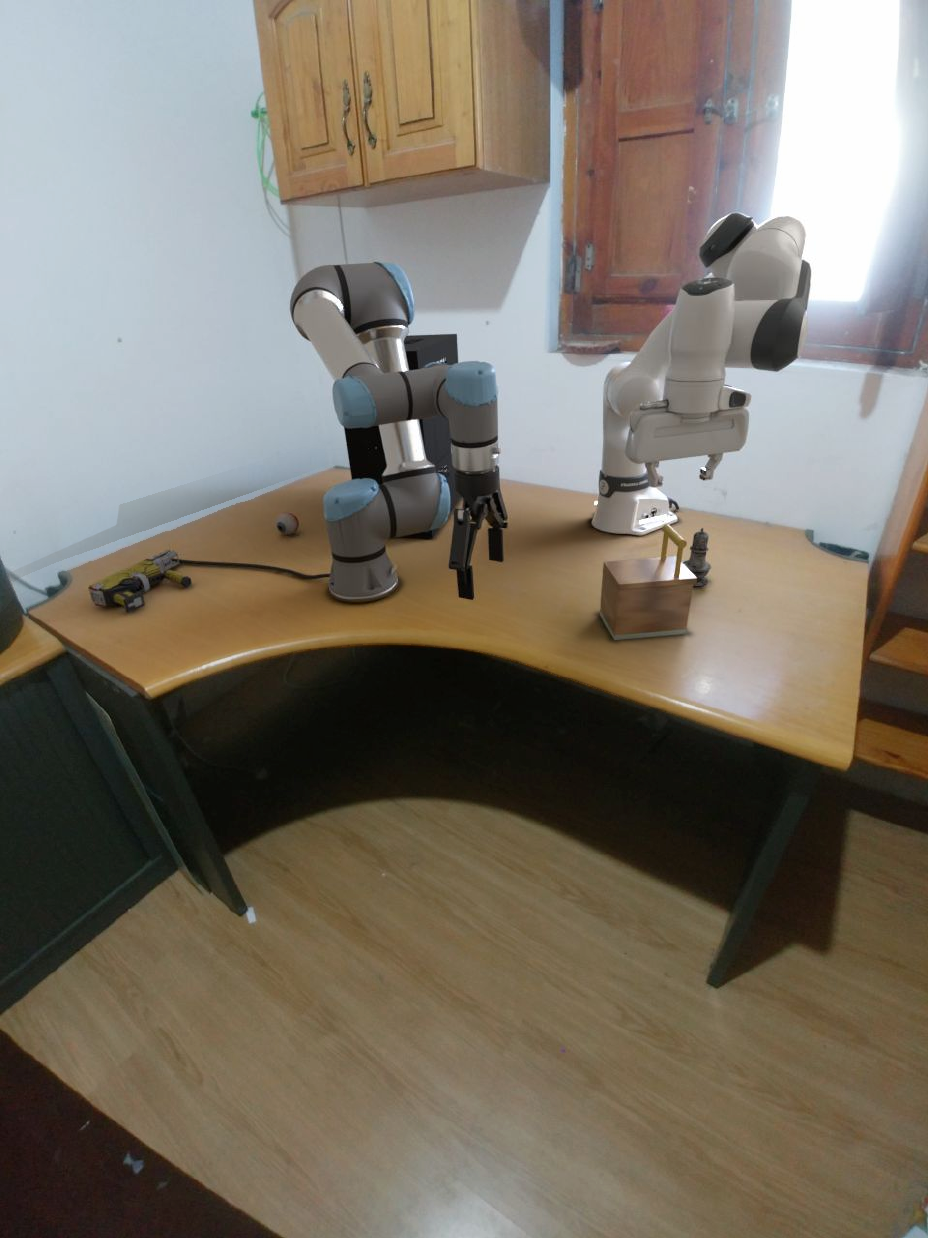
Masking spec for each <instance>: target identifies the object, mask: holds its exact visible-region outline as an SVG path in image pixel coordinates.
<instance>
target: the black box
mask: <svg viewBox="0 0 928 1238" xmlns="http://www.w3.org/2000/svg"><path fill="white" fill-rule="evenodd" d="M404 347H405V352H406V357H407V362H408V367H409V370H417V369H421V368H423V367H424V366H425V365H427V364H429V363H432V362H440V363H447V364H448V365H453V364H456V363H459V348H458V347H459V346H458V334H457V333H443V334H441V333H440V334H439V333H437V334H413V335H411V334H410V335H407V336H406V338H405V339H404ZM419 424H420V429H421V435H422V440H423V445H424V450H425V455H426V459H427V460H428V461H429V462H431V463H432V464H433V465H434V466H435V470H436V473H439V474H442V475H443V476H444V477H445V478H446V481H447V483H448V486H449V491H450V512H449V515H448V517H449V516H450V515H451V513H452V512H453V511H454V509H455V508H456V506H457V504H458V503H459V501H460V500H461V498H463V497H462V496H461V495H460V494H459V493H457V492H456V491H455V488H454V476H453V470H454V467H453V465H452V452H451V439H450V437H451V436H450V426H449V420H447V419H446V418H444V417H443V416H437V417H431V418H424V419H419ZM343 431H344V438H345V443H346V450H347V456H348V465H349V471H350V476H351V480H353V479H363V478H370V479H374V480H375V481H376V482H377V483H378V485H380V484H383V479H382V474H383V472H384V471H385V469H386V467H387V464H386V459H385V454H384V449H383V445H382V440H381V435H380V430H379V425H377V426H372V427H369V428H362V427H361V428H345V427H344V426H343ZM438 531H440V528H436V529H433V530H429V531H428V532H420V533H415V534H411V535H406V536H401V537H400V538H410V539H411V538H414V539H415V538H416V539H434V538H435V536H436V534H437V533H438Z"/></svg>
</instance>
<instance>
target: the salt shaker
mask: <svg viewBox="0 0 928 1238" xmlns="http://www.w3.org/2000/svg"><path fill="white" fill-rule="evenodd" d="M708 543H709V534H708V533H707V532H706V531H705V529H704V527H701V528H700V530H699V531H697V532H695V533H694V534H693V539H692V545H691V546H690V547H689V549H690V556H689V558H688V559H685V560H684V561H682V563H683V564H684V565H685V566H686V567H687V568H688V569H689V570H690V571H691V572H692V573H693V574H694V575H695V576H696V577H697V583H694V584H693V587H702V586H705V585H707V584H708V579H707V578H706V576H707V575H708V574H709V572H710V571H711V569H712V565H711V563H709V561H706V558H707V552H709V548H708Z"/></svg>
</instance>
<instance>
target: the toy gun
mask: <svg viewBox="0 0 928 1238" xmlns="http://www.w3.org/2000/svg"><path fill="white" fill-rule="evenodd" d="M172 558H176V559H177V560H178V562H173V561H171V559H172ZM179 559H180V558H179V554H178V552H177V551H176V550H172V551H171V549H166V550H165V551H163V552H159V554H155V555H154V556H152V557H150V558H145V559H144V560H141V561H138V562H137V563H135V564H133V565H131V566H130V565H129V567H128V566H127V567H126V568H124V569H122V570H120V571H118V572H116V573H113V574H111V575H109V576H107V577H105V578H103V579H100V580H98V581H97V582H94V583H92V584H90V585H88V588H87V589H88V592H89V595H90V600H91V602H92V604H94V605H95V607H99V608H103V607H112V606H117V605H121V606H123V607H124V609H125V612H126V613H128V614H129V613H131V612H133V611H136V610H138V609H140V608H143V607H145V605H146V604H145V600H144V595H143V594H145V593H146V592H149V591H150V589H151V587H152V586H154V585H156V584H159V583H161V582H163V581H164V580H166V581H169V582H171V583H174V584H177V585H181V586H182V588H188V587H190V586H191V585H192V582H193V581H192V578H191V577H190V576H186V575H184V574H181V573H178V572H177V571H174V570H172V569H173V568H175V567H177V566H179V565H180V563H179Z"/></svg>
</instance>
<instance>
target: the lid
mask: <svg viewBox="0 0 928 1238" xmlns="http://www.w3.org/2000/svg"><path fill="white" fill-rule="evenodd" d="M661 531H662V533H663V536H662V537H663V538H662V545H661V553H660V556H659V557H647V558H646V557H645V558H644V557H643V558H633V559H622V560H621V559H620V560H609V561H607V560H606V561H603V564H602V568H603V567H604V569H605V570H606V572H607V573H608V575H609V576H610V578H611V579H612V581H613V582H614V584H615V585H616V587H617V588H618V589H619V590H622V589H634V588H646V587H658V586H670V585H682V584H694V583H697V577H696V576H695V575H694V574H693V573H692V572H691V571H690V570H689V569H688V568H687V567H686V566H685V565H684V564H683V561H682V560H683V553H684V549H685V548H686V547H687V545H688V542H687V540H686V539H685V538H683V536H681V534H679V533H678V532H677V531H676V529H674V528H673V527H672V526H671V524H670V525H669V524H665V525H663V527H662V528H661ZM669 540H671V542H672V543H673V544H674V545H675V546H676V547H677V551H676V555H670V556H667V551H668V544H669Z"/></svg>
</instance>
